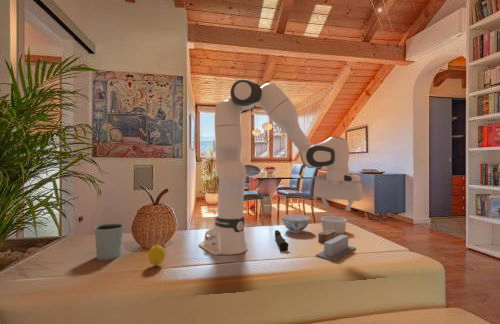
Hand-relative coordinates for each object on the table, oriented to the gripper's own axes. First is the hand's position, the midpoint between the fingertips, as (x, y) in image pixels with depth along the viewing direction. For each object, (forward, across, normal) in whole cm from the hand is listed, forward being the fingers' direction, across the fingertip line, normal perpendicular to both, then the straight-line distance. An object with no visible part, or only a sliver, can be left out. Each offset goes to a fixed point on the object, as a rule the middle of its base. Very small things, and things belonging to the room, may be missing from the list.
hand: (336, 209), depth 114 cm
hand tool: (+19, -24, -7) cm, 32 cm away
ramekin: (+18, -16, +30) cm, 39 cm away
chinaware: (+18, -31, +16) cm, 39 cm away
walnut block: (+16, -11, +8) cm, 21 cm away
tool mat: (+18, 0, 0) cm, 18 cm away
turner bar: (+18, 0, 0) cm, 18 cm away
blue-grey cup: (+20, -64, -67) cm, 94 cm away
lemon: (+19, -41, -59) cm, 74 cm away
